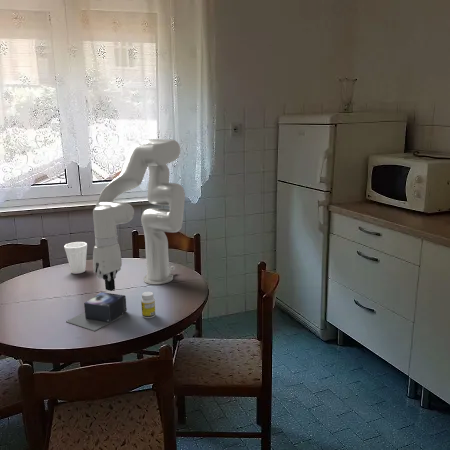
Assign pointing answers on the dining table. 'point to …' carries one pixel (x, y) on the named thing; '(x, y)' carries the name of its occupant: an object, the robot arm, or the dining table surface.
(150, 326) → the dining table surface
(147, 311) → the supplement bottle
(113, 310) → the small box
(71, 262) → the cup
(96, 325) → the mat
